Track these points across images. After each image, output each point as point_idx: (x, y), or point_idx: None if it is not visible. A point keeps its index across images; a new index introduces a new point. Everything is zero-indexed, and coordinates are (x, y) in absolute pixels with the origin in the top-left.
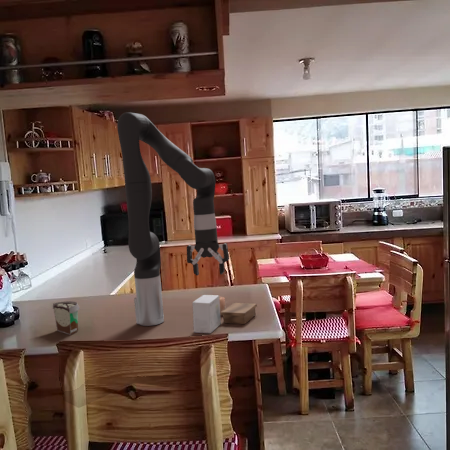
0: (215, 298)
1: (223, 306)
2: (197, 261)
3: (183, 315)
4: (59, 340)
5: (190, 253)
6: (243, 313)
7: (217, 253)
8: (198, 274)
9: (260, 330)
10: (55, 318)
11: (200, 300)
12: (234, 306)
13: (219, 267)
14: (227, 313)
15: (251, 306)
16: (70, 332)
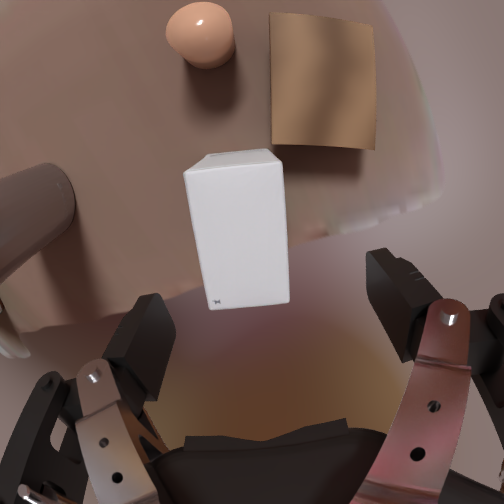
0: (286, 223)
1: (232, 42)
2: (118, 386)
3: (89, 104)
4: (16, 331)
5: (77, 488)
6: (369, 149)
7: (441, 420)
8: (162, 303)
9: (410, 195)
10: None
11: (232, 282)
12: (297, 60)
13: (391, 338)
14: (301, 144)
15: (368, 59)
16: (1, 311)
